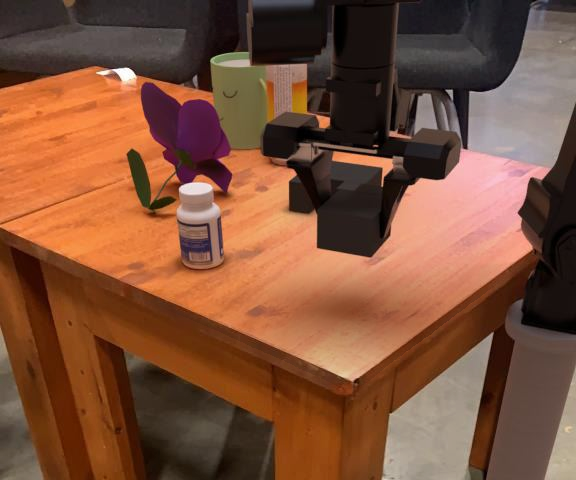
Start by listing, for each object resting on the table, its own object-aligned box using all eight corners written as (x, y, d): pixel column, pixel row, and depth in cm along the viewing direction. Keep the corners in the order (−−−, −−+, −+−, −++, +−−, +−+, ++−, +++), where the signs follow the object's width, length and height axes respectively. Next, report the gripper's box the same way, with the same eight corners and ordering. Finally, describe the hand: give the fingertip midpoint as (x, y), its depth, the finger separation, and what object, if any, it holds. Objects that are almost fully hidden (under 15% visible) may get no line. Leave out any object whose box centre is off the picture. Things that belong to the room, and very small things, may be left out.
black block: (398, 226, 83) (401, 189, 80) (371, 258, 77) (373, 218, 74) (346, 218, 85) (348, 181, 82) (316, 248, 79) (316, 209, 76)
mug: (203, 138, 131) (196, 59, 123) (252, 126, 135) (249, 49, 127) (245, 157, 123) (241, 74, 115) (296, 144, 128) (295, 63, 120)
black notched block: (381, 196, 110) (382, 167, 107) (355, 221, 104) (357, 191, 101) (317, 186, 113) (317, 158, 111) (289, 210, 107) (288, 181, 104)
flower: (208, 254, 108) (254, 183, 111) (164, 172, 95) (219, 93, 98) (131, 233, 114) (177, 165, 117) (79, 153, 101) (133, 79, 104)
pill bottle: (202, 248, 98) (196, 176, 92) (232, 259, 95) (228, 186, 89) (172, 262, 95) (164, 189, 89) (203, 274, 92) (196, 199, 86)
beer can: (308, 154, 124) (308, 48, 114) (305, 166, 120) (305, 58, 110) (271, 153, 125) (268, 48, 115) (266, 166, 120) (263, 57, 110)
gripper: (487, 50, 71) (463, 217, 82) (304, 35, 77) (303, 193, 88) (454, 79, 64) (433, 259, 74) (254, 60, 70) (261, 229, 80)
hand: (354, 232), depth 79 cm, fingers closed on black block, 6 cm apart
